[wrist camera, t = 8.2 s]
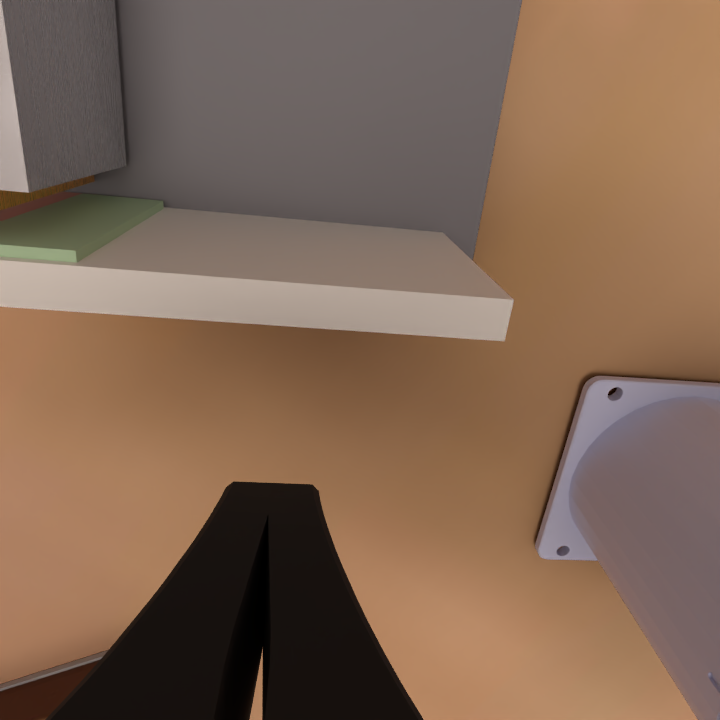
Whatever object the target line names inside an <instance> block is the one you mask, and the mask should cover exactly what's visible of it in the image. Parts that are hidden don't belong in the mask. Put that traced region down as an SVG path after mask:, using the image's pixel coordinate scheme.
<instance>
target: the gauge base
mask: <svg viewBox="0 0 720 720" xmlns="http://www.w3.org/2000/svg"><path fill="white" fill-rule="evenodd" d="M521 3H522V0H115V12H116V26H117V40H118V54H119V68H120V82H121V96H122V110H123V124H124V138H125V152H126V166H124V167H120V168H117V169H113V170H109V171H106V172H102V173H98V174H95V175H94V181H95V182H91V183H88V184H85V185H82V186H78V187H75V188H72V189H69V190H65V191H62V192H59V193H55V194H52V195H49V196H46V197H42V198H39V199H36V200H33V201H29V202H26V203H23V204H20V205H16V206H13V207H10V208H7V209H3V210H0V307H13V308H27V309H42V310H57V311H71V312H86V313H100V314H115V315H129V316H144V317H158V318H173V319H188V320H202V321H217V322H231V323H246V324H260V325H275V326H289V327H304V328H319V329H333V330H348V331H362V332H377V333H391V334H406V335H420V336H435V337H450V338H464V339H479V340H493V341H505V337H506V332H507V328H508V324H509V319H510V315H511V310H512V306H513V302H514V299H512V298H511V297H510V296H509V295H508V294H507V293H506V292H505V291H504V290H503V289H502V288H501V287H500V286H499V285H498V284H497V283H496V282H495V281H493V280H492V279H491V278H490V277H489V276H488V275H487V274H486V273H485V272H484V271H483V270H482V269H481V268H480V267H479V266H478V265H477V264H476V263H474V262H473V256H474V251H475V246H476V240H477V235H478V230H479V225H480V219H481V214H482V209H483V203H484V198H485V193H486V188H487V182H488V177H489V172H490V167H491V161H492V156H493V151H494V145H495V140H496V135H497V130H498V124H499V119H500V114H501V109H502V103H503V98H504V93H505V87H506V82H507V77H508V72H509V66H510V61H511V56H512V51H513V45H514V40H515V35H516V29H517V24H518V19H519V14H520V8H521Z"/></svg>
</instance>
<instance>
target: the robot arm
mask: <svg viewBox="0 0 720 720" xmlns="http://www.w3.org/2000/svg"><path fill="white" fill-rule="evenodd" d="M616 387H617V390H616V391H615V393H613V394H612V395H608V393H609V391H610V390H611V389H613V388H616ZM561 546H563V547H562V548H559V547H561ZM535 548H536V550H537V552H538V554H539V556H540V557H541V558H543V559H554V560H596V561H599V563H600V565H601V566H602V568H603V569H604V571H605V573H606V574H607V576H608V577H609V579H610V580H611V582H612V584H613V585H614V587H615V588H616V590H617V592H618V593H619V595H620V596H621V598H622V600H623V601H624V603H625V604H626V606H627V608H628V609H629V611H630V612H631V614H632V615H633V617H634V619H635V620H636V622H637V623H638V625H639V627H640V628H641V630H642V631H643V633H644V635H645V636H646V638H647V639H648V641H649V643H650V644H651V646H652V647H653V649H654V651H655V652H656V654H657V655H658V657H659V658H660V660H661V662H662V663H663V665H664V666H665V668H666V670H667V671H668V673H669V674H670V676H671V678H672V679H673V681H674V682H675V684H676V686H677V687H678V689H679V690H680V692H681V693H682V695H683V697H684V698H685V700H686V701H687V703H688V705H689V706H690V708H691V709H692V711H693V713H694V714H695V716H696V717H697V719H698V720H720V383H710V382H694V381H678V380H662V379H646V378H630V377H614V376H595V377H593V378H591V379H589V380H588V381H587V382H586V383H585V385H584V387H583V389H582V392H581V396H580V399H579V402H578V406H577V409H576V412H575V415H574V419H573V422H572V425H571V429H570V432H569V435H568V438H567V442H566V445H565V448H564V452H563V455H562V458H561V461H560V465H559V468H558V471H557V475H556V478H555V481H554V485H553V488H552V491H551V494H550V498H549V501H548V504H547V508H546V511H545V514H544V517H543V521H542V524H541V527H540V531H539V534H538V537H537V540H536V544H535ZM558 548H559V549H558ZM262 648H263V716H262V720H423V718H422V716H421V715H420V713H419V711H418V710H417V708H416V707H415V705H414V703H413V702H412V700H411V698H410V697H409V695H408V694H407V692H406V690H405V689H404V687H403V685H402V683H401V682H400V680H399V678H398V676H397V675H396V673H395V671H394V669H393V668H392V666H391V664H390V662H389V660H388V659H387V657H386V655H385V653H384V651H383V649H382V648H381V646H380V644H379V642H378V640H377V638H376V636H375V634H374V632H373V630H372V628H371V627H370V625H369V623H368V621H367V619H366V617H365V615H364V613H363V610H362V608H361V606H360V604H359V602H358V600H357V598H356V596H355V594H354V591H353V589H352V587H351V584H350V582H349V580H348V578H347V575H346V573H345V571H344V569H343V566H342V564H341V562H340V559H339V557H338V554H337V552H336V549H335V547H334V544H333V541H332V538H331V535H330V533H329V530H328V527H327V524H326V521H325V517H324V514H323V510H322V506H321V502H320V497H319V491H318V490H317V489H316V488H315V487H314V486H313V485H310V484H283V483H257V482H233V483H231V484H230V485H229V486H227V487H226V489H225V490H224V492H223V494H222V496H221V498H220V500H219V502H218V503H217V505H216V507H215V508H214V510H213V512H212V513H211V515H210V517H209V518H208V520H207V521H206V523H205V525H204V526H203V528H202V529H201V531H200V532H199V534H198V535H197V537H196V538H195V540H194V541H193V543H192V544H191V545H190V547H189V548H188V550H187V551H186V552H185V554H184V555H183V556H182V558H181V559H180V561H179V562H178V563H177V565H176V566H175V567H174V569H173V570H172V572H171V573H170V574H169V576H168V577H167V578H166V580H165V581H164V583H163V584H162V585H161V587H160V588H159V589H158V590H157V592H156V593H155V594H154V596H153V597H152V598H151V599H150V601H149V602H148V603H147V604H146V605H145V607H144V608H143V609H142V610H141V612H140V613H139V614H138V615H137V616H136V618H135V619H134V620H133V621H132V623H131V624H130V625H129V626H128V627H127V629H126V630H125V631H124V632H123V634H122V635H121V636H120V637H119V638H118V640H117V641H116V642H115V643H114V645H113V646H112V647H111V648H110V649H109V650H108V651H107V653H106V654H105V655H104V656H103V657H102V658H101V659H100V661H99V662H98V663H97V664H96V665H95V666H94V667H93V669H92V670H91V671H90V672H89V673H88V674H87V675H86V676H85V677H84V679H83V680H82V681H81V682H80V683H79V684H78V685H77V686H76V687H75V688H74V690H73V691H72V692H71V693H70V694H69V695H68V696H67V697H66V698H65V699H64V700H63V701H62V702H61V703H60V704H59V706H58V707H57V708H56V709H55V710H54V711H53V712H52V713H51V714H50V715H49V716H48V717H47V718H46V719H45V720H249V719H250V713H251V708H252V703H253V697H254V692H255V686H256V681H257V675H258V670H259V665H260V659H261V654H262Z"/></svg>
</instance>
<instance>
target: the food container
mask: <svg viewBox="0 0 720 720" xmlns="http://www.w3.org/2000/svg"><path fill="white" fill-rule="evenodd" d="M107 651H108V650H107ZM107 651H104V652H101V653H98V654H94V655H91V656H88V657H85V658H82V659H79V660H75V661H72V662H69V663H66V664H63V665H60V666H57V667H53V668H50V669H47V670H44V671H41V672H38V673H35V674H31V675H28V676H25V677H22V678H19V679H16V680H12V681H9V682H6V683H3V684H0V720H45V719H46V718H47V717H48V716H49V715H50V714H51V713H52V712H53V711H54V710H55V709H56V708H57V707H58V706H59V704H60V703H61V702H62V701H63V700H64V699H65V698H66V697H67V696H68V695H69V694H70V693H71V692H72V691H73V690H74V688H75V687H76V686H77V685H78V684H79V683H80V682H81V681H82V680H83V679H84V677H85V676H86V675H87V674H88V673H89V672H90V671H91V670H92V669H93V667H94V666H95V665H96V664H97V663H98V662H99V661H100V659H101V658H102V657H103V656H104V655H105V654H106V653H107Z"/></svg>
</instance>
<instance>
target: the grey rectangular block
mask: <svg viewBox="0 0 720 720" xmlns="http://www.w3.org/2000/svg"><path fill="white" fill-rule="evenodd" d="M124 166H126V152H125V138H124V124H123V110H122V96H121V82H120V68H119V54H118V40H117V26H116V12H115V0H0V210H3V209H7V208H10V207H13V206H16V205H20V204H23V203H26V202H29V201H33V200H36V199H39V198H42V197H46V196H49V195H52V194H55V193H59V192H62V191H65V190H69V189H72V188H75V187H78V186H82V185H85V184H88V183H91V182H95V181H94V175H95V174H98V173H102V172H106V171H109V170H113V169H117V168H120V167H124Z"/></svg>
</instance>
